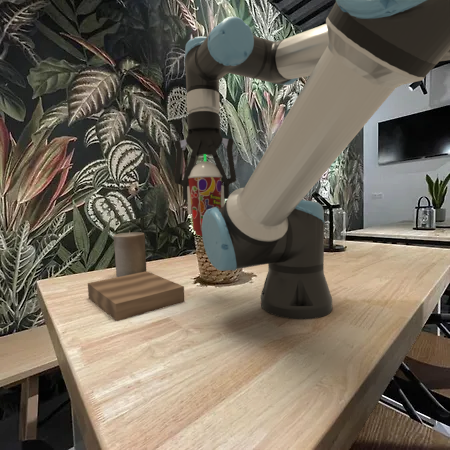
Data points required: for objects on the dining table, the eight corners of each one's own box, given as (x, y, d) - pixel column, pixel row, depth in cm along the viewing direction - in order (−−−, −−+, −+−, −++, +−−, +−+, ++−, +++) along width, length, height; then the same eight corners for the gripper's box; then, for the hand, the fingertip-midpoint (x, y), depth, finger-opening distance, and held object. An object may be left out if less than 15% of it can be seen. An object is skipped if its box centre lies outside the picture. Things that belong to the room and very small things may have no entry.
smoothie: (220, 236, 64) (218, 145, 62) (185, 236, 65) (181, 147, 63) (227, 232, 72) (225, 151, 70) (196, 232, 74) (193, 153, 72)
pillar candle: (151, 271, 99) (148, 228, 97) (140, 279, 89) (137, 231, 88) (124, 271, 100) (121, 228, 98) (110, 279, 90) (107, 232, 89)
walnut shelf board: (184, 302, 68) (183, 286, 67) (116, 323, 57) (115, 304, 57) (147, 284, 83) (146, 271, 83) (88, 298, 73) (87, 283, 72)
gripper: (246, 117, 69) (248, 211, 71) (165, 120, 70) (169, 213, 72) (247, 107, 62) (249, 213, 64) (156, 111, 63) (161, 215, 65)
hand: (206, 213), depth 68 cm, fingers closed on smoothie, 7 cm apart
